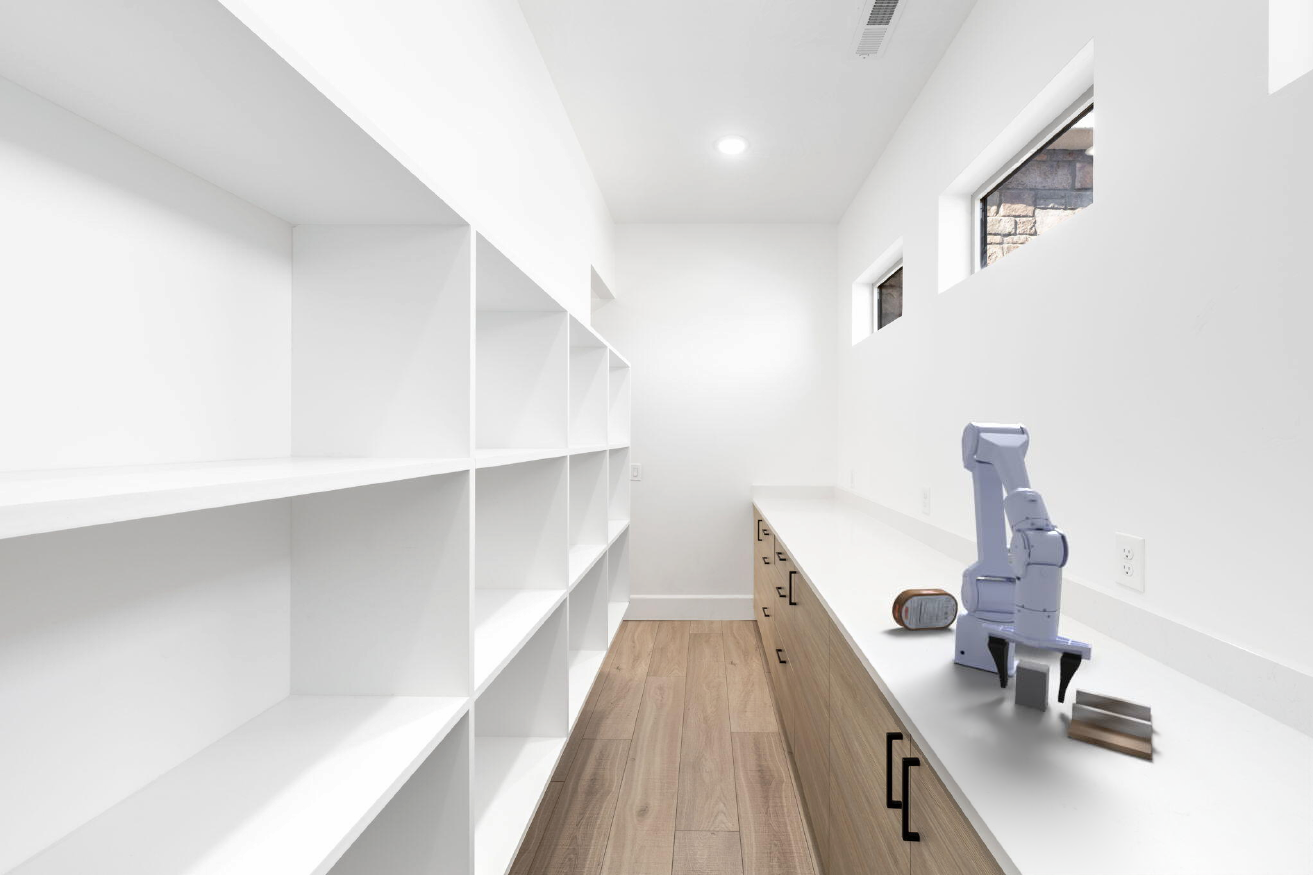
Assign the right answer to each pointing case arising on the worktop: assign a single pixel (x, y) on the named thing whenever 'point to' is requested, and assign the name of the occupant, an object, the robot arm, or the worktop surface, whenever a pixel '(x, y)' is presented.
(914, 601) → the tin
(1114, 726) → the end holder
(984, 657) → the robot arm
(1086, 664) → the worktop surface
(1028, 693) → the grey rectangular block
